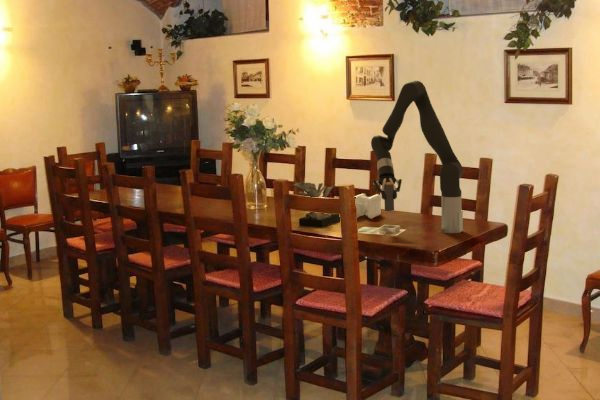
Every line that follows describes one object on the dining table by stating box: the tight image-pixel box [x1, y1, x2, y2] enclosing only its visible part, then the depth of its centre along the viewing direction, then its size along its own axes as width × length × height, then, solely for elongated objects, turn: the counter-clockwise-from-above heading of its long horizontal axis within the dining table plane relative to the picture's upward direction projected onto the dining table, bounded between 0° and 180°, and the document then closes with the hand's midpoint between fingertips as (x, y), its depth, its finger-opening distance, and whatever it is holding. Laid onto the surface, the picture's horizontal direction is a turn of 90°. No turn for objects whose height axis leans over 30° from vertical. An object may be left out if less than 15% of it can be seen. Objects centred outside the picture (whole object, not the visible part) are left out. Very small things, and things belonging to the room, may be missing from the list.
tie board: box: [357, 224, 407, 237], centre depth 355 cm, size 22×14×4 cm, turn 63°
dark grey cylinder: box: [384, 182, 395, 212], centre depth 351 cm, size 4×4×13 cm
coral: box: [293, 180, 341, 228], centre depth 385 cm, size 25×20×22 cm
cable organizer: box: [354, 193, 382, 220], centre depth 398 cm, size 15×11×12 cm
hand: (389, 198), depth 349 cm, fingers closed on dark grey cylinder, 4 cm apart
